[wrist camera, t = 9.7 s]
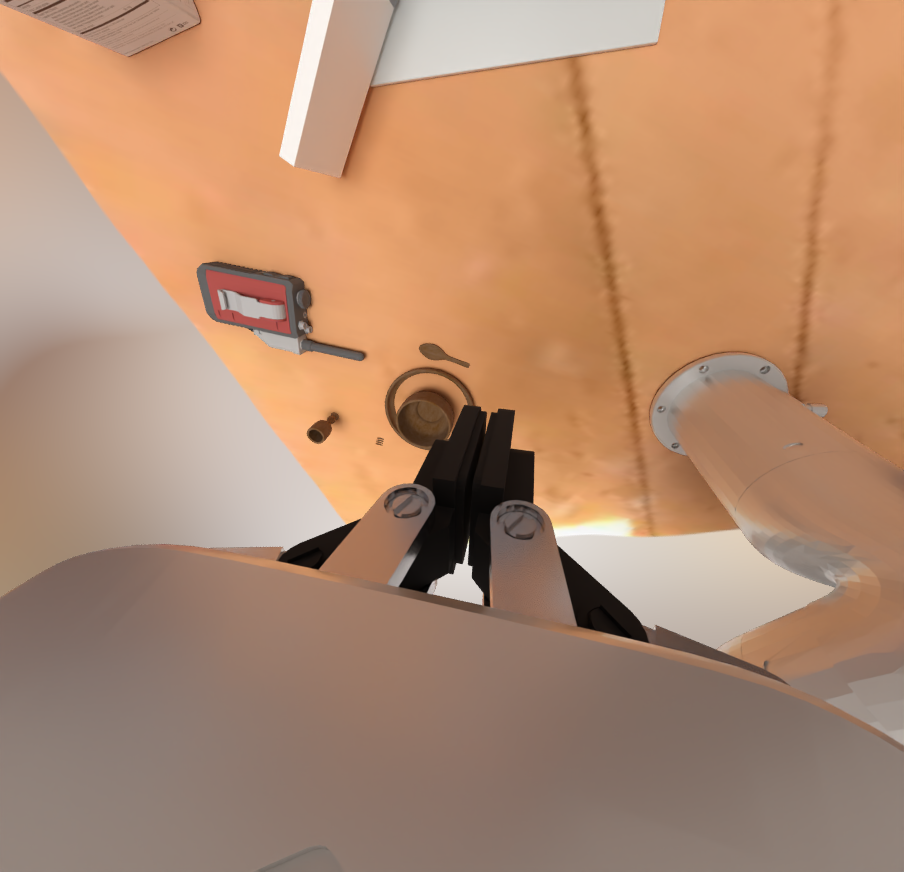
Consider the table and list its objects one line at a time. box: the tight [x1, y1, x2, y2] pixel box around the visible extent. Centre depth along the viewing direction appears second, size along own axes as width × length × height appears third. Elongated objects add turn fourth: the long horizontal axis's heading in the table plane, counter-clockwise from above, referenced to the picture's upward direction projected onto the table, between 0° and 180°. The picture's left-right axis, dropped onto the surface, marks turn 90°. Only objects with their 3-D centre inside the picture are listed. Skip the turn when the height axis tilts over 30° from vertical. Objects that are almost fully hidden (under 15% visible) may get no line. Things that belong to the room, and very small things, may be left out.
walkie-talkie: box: [197, 262, 364, 361], centre depth 39 cm, size 9×4×20 cm
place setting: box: [307, 344, 474, 450], centre depth 42 cm, size 18×20×6 cm
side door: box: [279, 0, 398, 178], centre depth 24 cm, size 13×1×8 cm, turn 148°
